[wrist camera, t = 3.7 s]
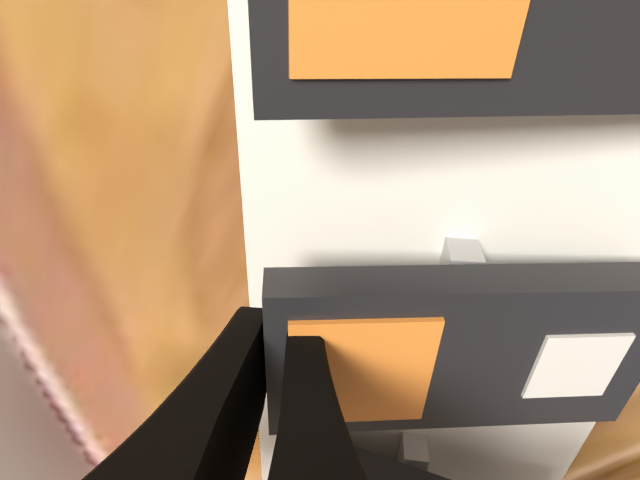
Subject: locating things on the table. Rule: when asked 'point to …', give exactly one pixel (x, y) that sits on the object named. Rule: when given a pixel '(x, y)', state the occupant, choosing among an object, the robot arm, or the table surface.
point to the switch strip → (437, 226)
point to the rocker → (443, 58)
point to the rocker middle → (461, 341)
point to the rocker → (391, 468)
